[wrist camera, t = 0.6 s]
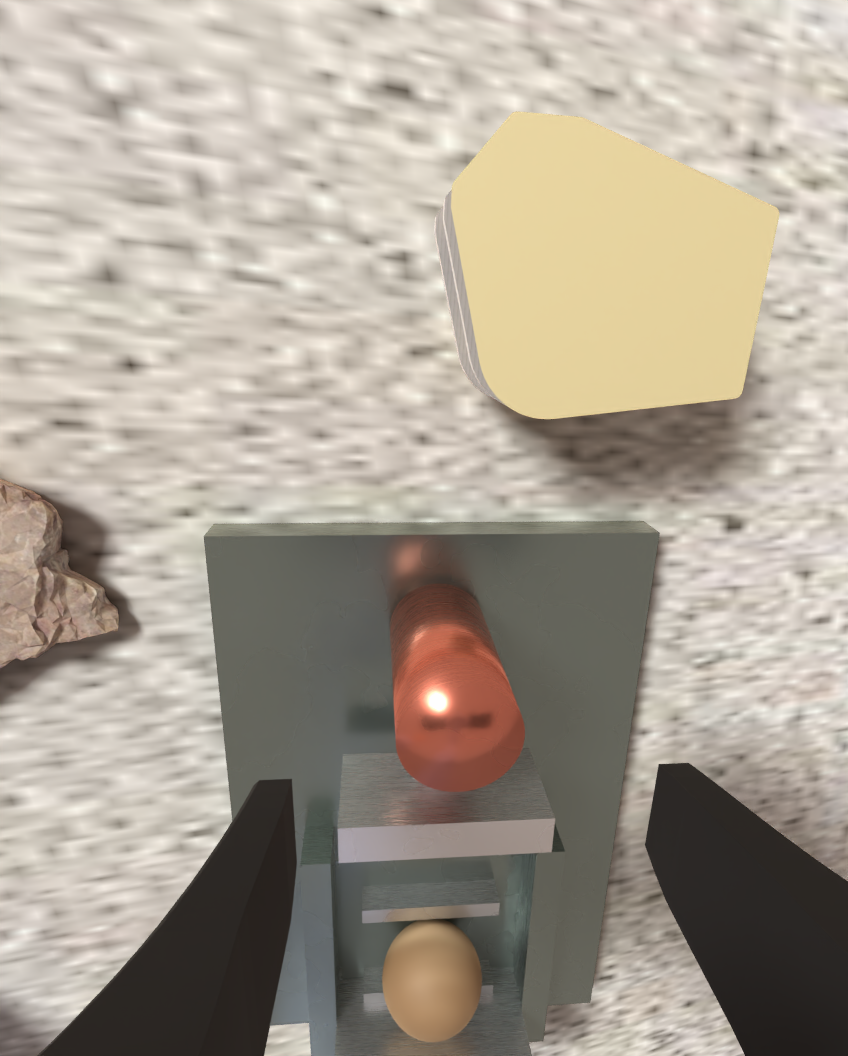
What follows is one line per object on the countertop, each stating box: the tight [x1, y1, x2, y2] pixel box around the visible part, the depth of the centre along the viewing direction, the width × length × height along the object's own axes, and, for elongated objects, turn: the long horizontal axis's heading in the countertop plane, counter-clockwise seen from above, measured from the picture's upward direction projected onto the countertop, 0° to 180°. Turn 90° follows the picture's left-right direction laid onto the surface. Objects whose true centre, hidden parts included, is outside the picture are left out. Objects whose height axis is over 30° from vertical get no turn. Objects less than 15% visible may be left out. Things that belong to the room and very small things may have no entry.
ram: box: [338, 584, 555, 863], centre depth 17 cm, size 7×6×6 cm
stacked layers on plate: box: [434, 112, 779, 419], centre depth 15 cm, size 10×9×6 cm
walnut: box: [382, 919, 482, 1042], centre depth 22 cm, size 4×4×4 cm
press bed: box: [204, 521, 659, 1056], centre depth 20 cm, size 21×14×6 cm, turn 179°
